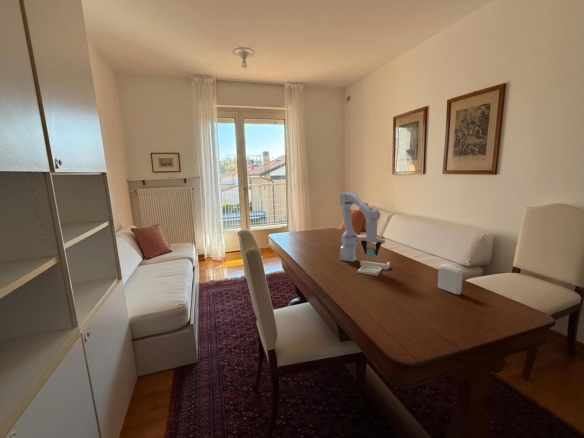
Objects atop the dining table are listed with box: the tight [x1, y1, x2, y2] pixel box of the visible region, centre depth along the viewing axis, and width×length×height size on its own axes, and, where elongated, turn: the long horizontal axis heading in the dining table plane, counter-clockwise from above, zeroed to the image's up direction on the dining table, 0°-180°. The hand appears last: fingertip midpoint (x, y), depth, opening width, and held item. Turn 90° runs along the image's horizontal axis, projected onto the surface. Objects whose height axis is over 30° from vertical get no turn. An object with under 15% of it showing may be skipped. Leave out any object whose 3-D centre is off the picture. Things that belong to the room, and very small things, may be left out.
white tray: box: [357, 265, 383, 277], centre depth 150 cm, size 11×11×1 cm
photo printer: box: [437, 263, 464, 295], centre depth 123 cm, size 10×4×12 cm, turn 26°
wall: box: [359, 260, 391, 271], centre depth 159 cm, size 16×6×3 cm, turn 60°
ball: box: [365, 246, 376, 258], centre depth 151 cm, size 6×6×6 cm
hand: (371, 254), depth 151 cm, fingers closed on ball, 6 cm apart
